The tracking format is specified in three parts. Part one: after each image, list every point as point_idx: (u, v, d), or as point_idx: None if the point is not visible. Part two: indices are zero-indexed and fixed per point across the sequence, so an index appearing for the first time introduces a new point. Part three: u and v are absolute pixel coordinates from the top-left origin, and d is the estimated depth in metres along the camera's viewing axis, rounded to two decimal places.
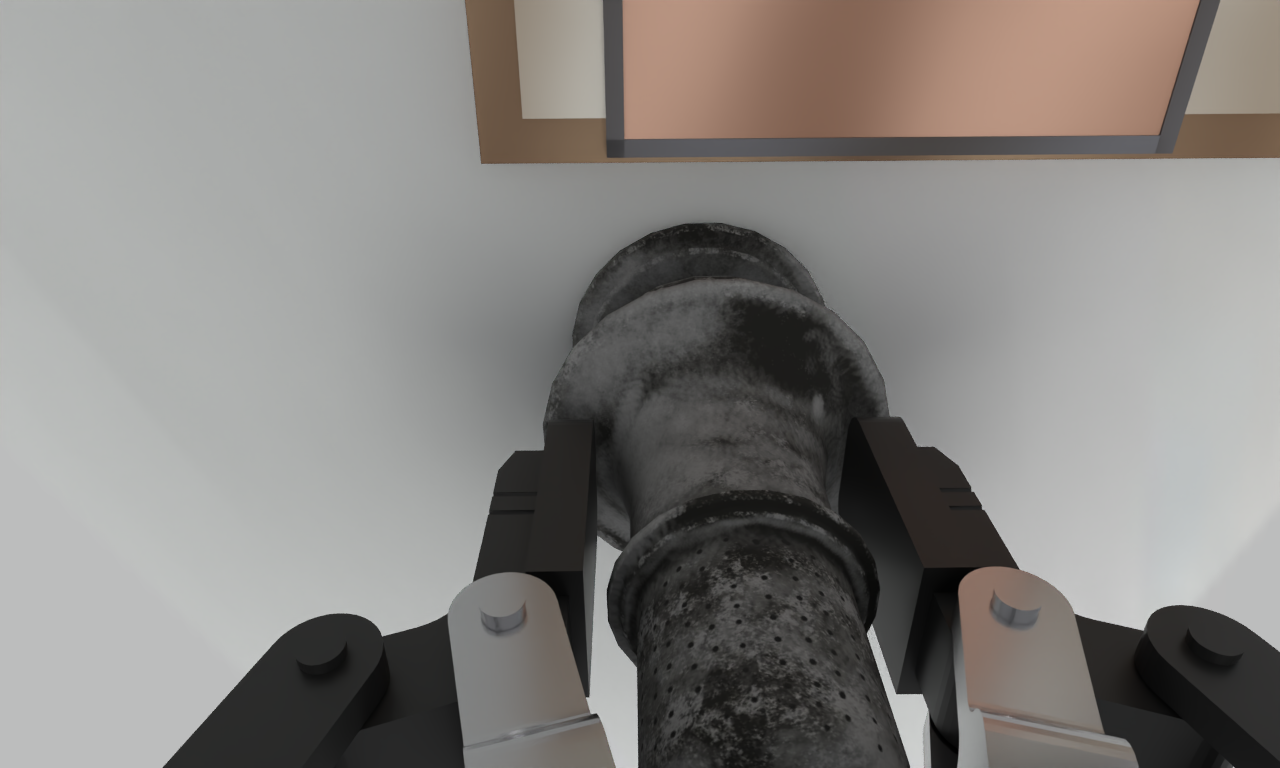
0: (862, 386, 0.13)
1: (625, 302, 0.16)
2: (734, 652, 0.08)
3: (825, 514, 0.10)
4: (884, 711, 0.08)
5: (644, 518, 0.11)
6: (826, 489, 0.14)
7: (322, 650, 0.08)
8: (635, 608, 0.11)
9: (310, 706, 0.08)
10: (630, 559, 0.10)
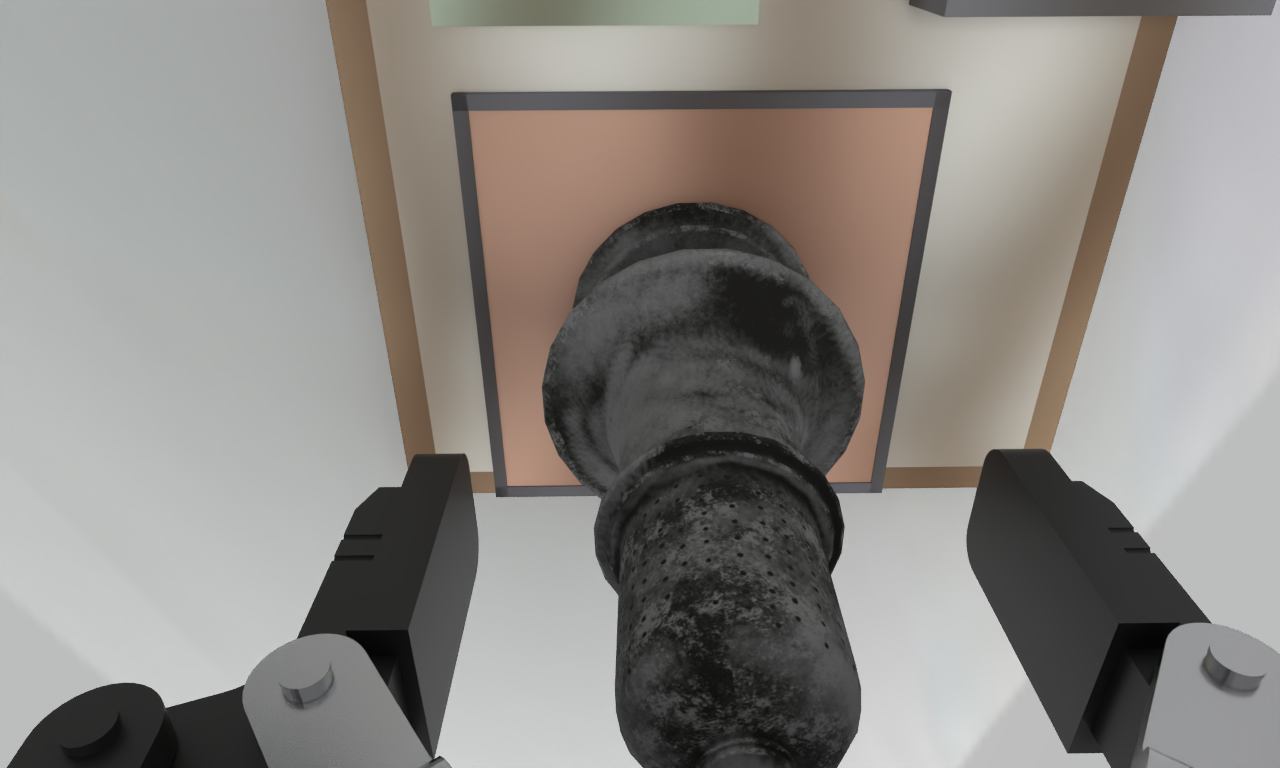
0: (838, 350, 0.14)
1: None
2: (700, 565, 0.09)
3: (791, 454, 0.11)
4: (834, 619, 0.09)
5: (630, 463, 0.12)
6: (805, 447, 0.15)
7: (91, 727, 0.08)
8: (619, 541, 0.12)
9: None
10: (614, 495, 0.11)
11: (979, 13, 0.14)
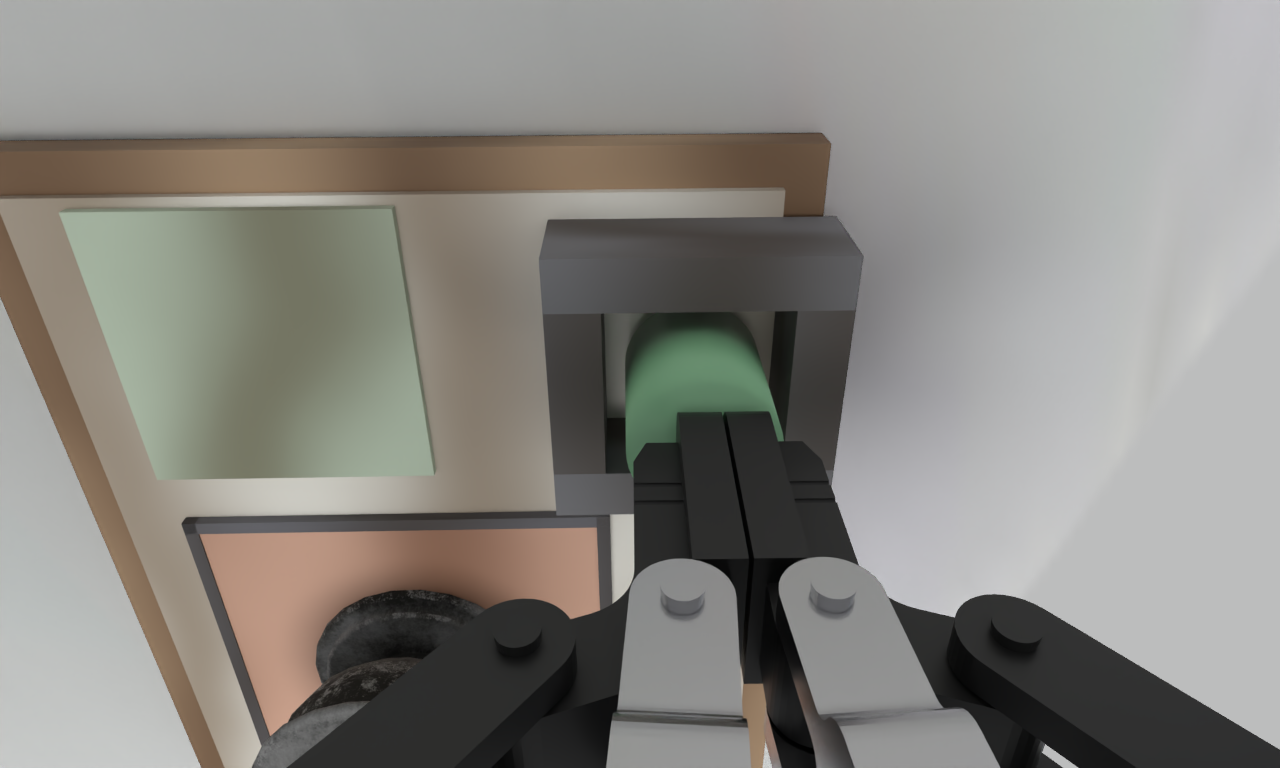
0: None
1: (348, 649, 0.20)
2: None
3: None
4: None
5: None
6: None
7: (518, 633, 0.09)
8: None
9: (517, 688, 0.08)
10: None
11: (584, 513, 0.16)
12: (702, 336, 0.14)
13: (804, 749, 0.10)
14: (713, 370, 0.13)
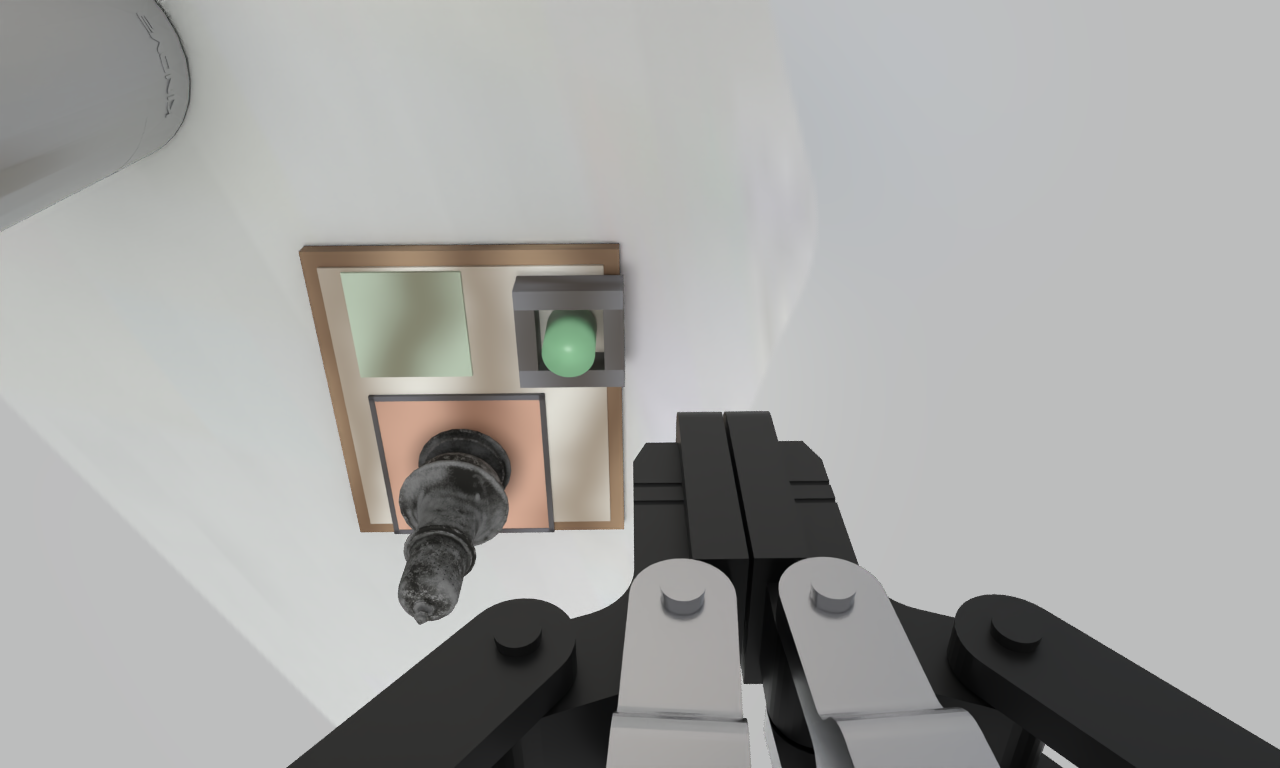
0: (494, 489, 0.44)
1: (433, 455, 0.47)
2: (418, 561, 0.39)
3: (453, 530, 0.40)
4: (450, 573, 0.39)
5: None
6: (487, 521, 0.44)
7: (518, 634, 0.09)
8: (409, 555, 0.41)
9: (518, 688, 0.08)
10: (407, 542, 0.41)
11: (531, 387, 0.43)
12: (570, 316, 0.41)
13: (804, 749, 0.10)
14: (570, 326, 0.40)
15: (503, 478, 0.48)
